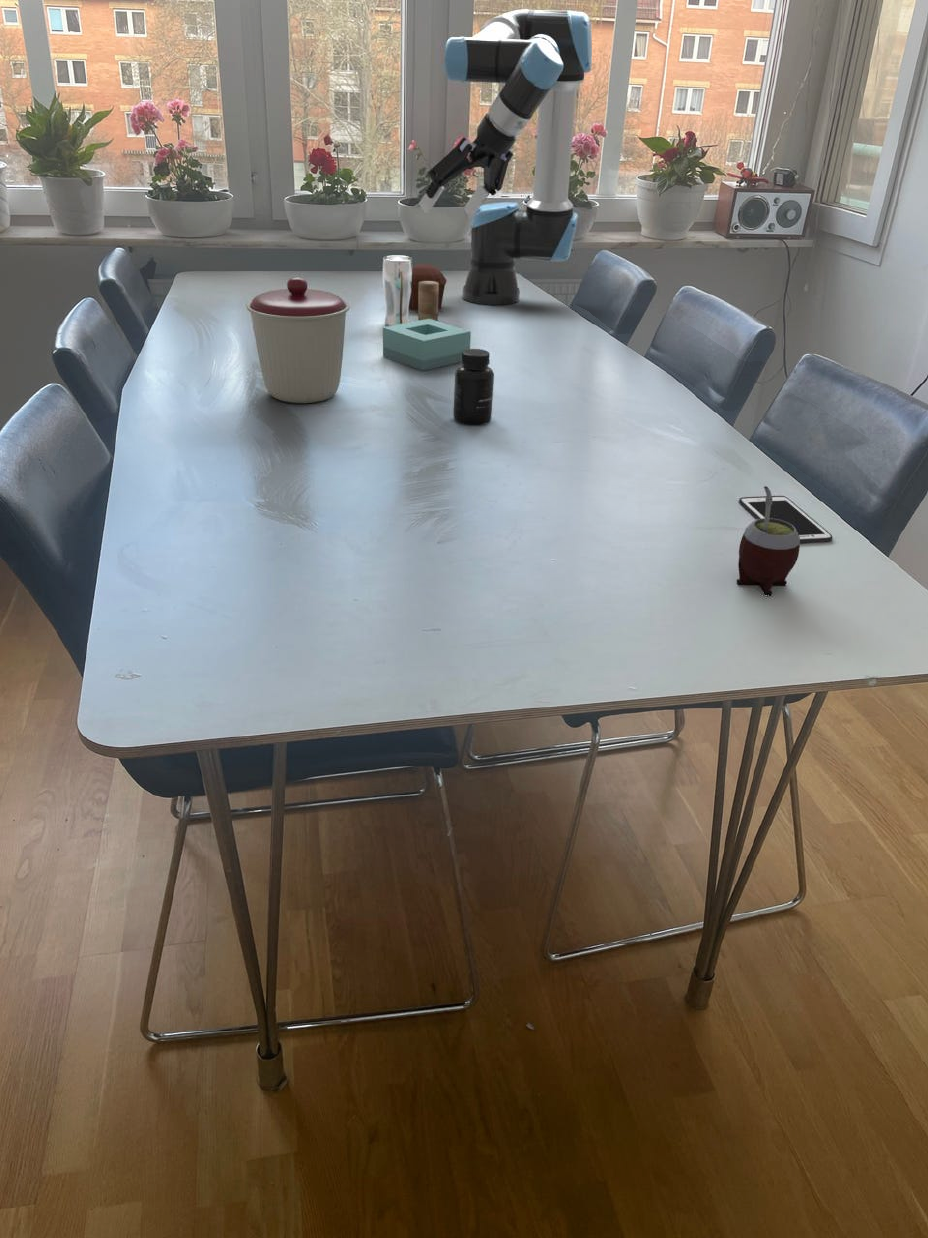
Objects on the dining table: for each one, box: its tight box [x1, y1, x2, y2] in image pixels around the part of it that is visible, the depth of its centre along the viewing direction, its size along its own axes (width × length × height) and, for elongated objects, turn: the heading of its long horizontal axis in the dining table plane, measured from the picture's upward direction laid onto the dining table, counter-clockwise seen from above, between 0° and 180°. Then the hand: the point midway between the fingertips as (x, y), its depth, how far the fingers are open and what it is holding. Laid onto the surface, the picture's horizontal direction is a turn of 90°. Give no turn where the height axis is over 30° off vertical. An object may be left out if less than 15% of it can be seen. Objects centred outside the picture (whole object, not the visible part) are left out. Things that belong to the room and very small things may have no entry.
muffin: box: [409, 263, 448, 312], centre depth 237 cm, size 12×11×10 cm
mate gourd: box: [736, 485, 801, 597], centre depth 115 cm, size 8×8×15 cm
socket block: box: [382, 319, 472, 372], centre depth 198 cm, size 13×13×6 cm
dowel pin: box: [417, 281, 439, 321], centre depth 211 cm, size 4×4×12 cm
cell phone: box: [738, 495, 834, 545], centre depth 136 cm, size 8×15×1 cm, turn 11°
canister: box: [245, 276, 350, 404], centre depth 170 cm, size 18×18×21 cm
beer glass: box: [381, 254, 413, 327], centre depth 219 cm, size 7×7×15 cm
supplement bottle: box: [452, 348, 495, 426], centre depth 165 cm, size 7×7×12 cm
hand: (446, 211), depth 198 cm, fingers open, 13 cm apart
